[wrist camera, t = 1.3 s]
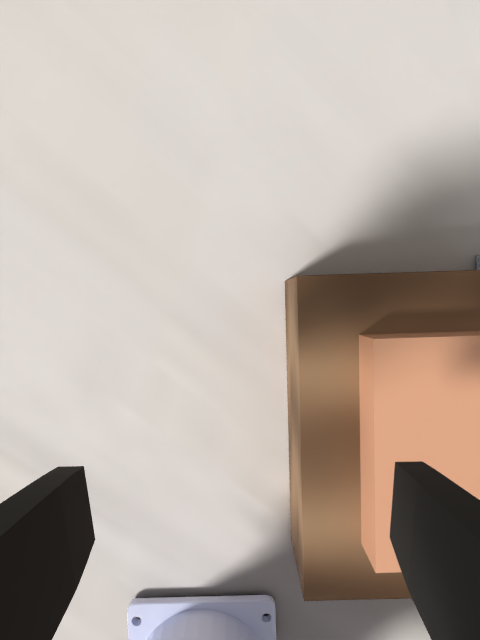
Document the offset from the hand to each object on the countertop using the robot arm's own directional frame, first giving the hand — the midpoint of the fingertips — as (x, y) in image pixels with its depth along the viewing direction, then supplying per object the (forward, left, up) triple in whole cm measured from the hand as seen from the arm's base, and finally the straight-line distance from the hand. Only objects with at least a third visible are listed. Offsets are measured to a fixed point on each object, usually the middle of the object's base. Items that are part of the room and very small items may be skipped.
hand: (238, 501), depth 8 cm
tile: (-1, -8, -7) cm, 10 cm away
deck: (-1, -8, -11) cm, 13 cm away
